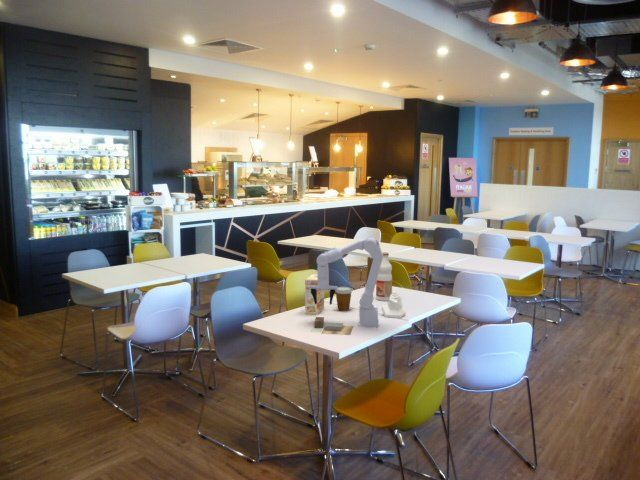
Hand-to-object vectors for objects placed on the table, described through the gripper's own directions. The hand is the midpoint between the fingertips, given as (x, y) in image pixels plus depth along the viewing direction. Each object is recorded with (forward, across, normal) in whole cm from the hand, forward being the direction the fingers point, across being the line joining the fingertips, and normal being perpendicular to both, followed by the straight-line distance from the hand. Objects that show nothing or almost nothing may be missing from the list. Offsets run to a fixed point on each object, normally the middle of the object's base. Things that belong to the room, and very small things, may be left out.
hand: (323, 303), depth 270 cm
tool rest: (+10, +1, +14) cm, 17 cm away
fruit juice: (+10, -28, -52) cm, 60 cm away
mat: (+10, -9, +12) cm, 18 cm away
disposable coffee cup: (+10, -7, -26) cm, 29 cm away
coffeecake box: (+10, +8, -20) cm, 24 cm away
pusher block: (+8, +1, +10) cm, 13 cm away
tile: (+8, -7, +8) cm, 13 cm away
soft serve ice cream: (+10, -35, -20) cm, 42 cm away
